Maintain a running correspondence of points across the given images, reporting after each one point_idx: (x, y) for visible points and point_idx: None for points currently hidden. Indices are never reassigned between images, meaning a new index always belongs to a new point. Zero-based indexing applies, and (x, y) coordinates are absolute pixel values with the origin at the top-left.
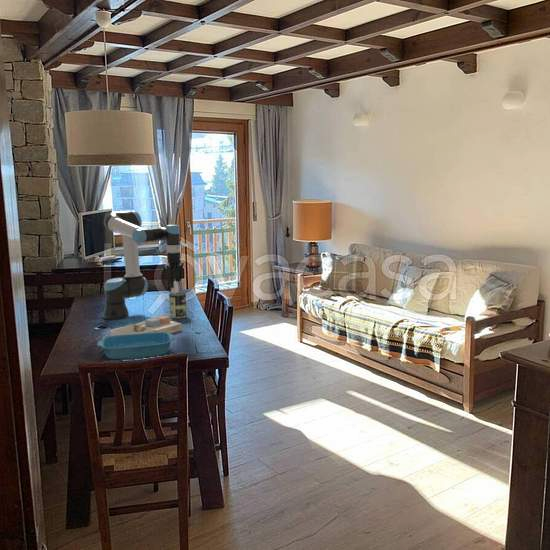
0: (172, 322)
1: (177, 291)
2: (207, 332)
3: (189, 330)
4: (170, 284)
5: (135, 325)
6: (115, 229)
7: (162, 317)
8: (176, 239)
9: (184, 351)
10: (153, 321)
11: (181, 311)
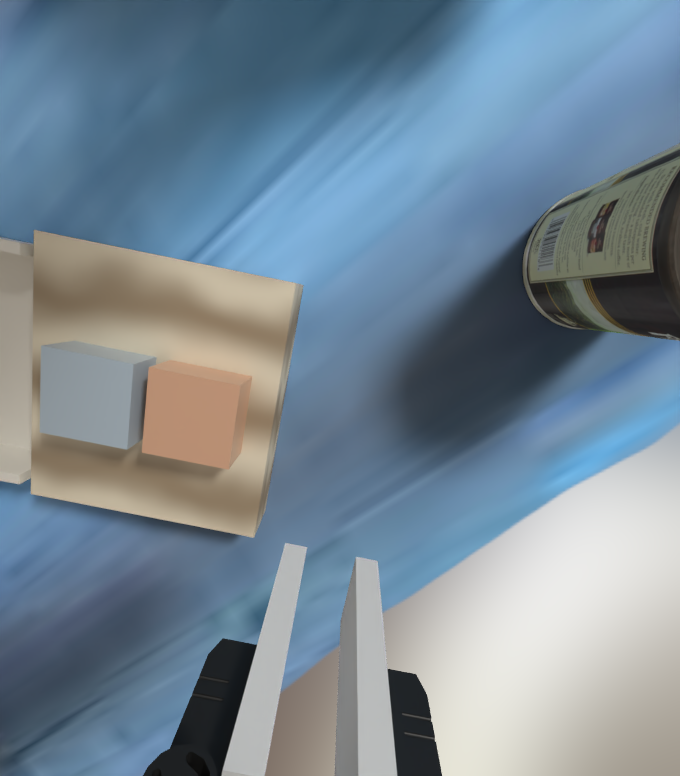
0: (242, 471)
1: (342, 633)
2: (299, 652)
3: None
4: (184, 717)
5: (36, 265)
6: None
7: (184, 424)
8: None
9: None
10: (55, 435)
11: (580, 323)
